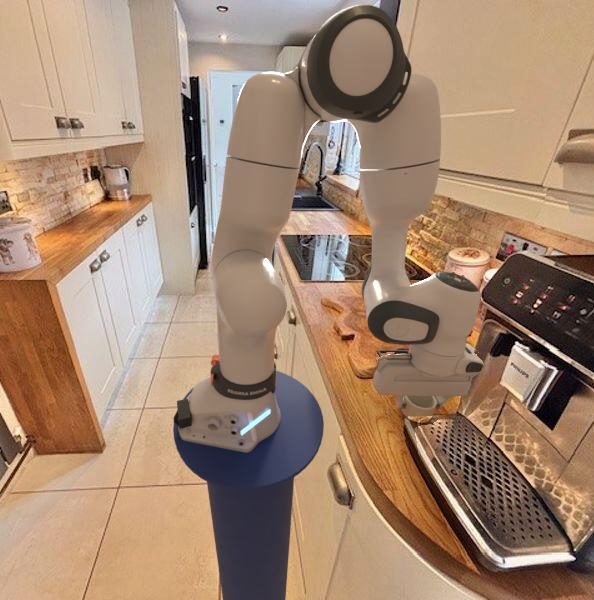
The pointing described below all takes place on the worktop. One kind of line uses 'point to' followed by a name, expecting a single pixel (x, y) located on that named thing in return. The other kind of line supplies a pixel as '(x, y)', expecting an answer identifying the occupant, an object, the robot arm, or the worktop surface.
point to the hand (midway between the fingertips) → (418, 406)
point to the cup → (419, 405)
